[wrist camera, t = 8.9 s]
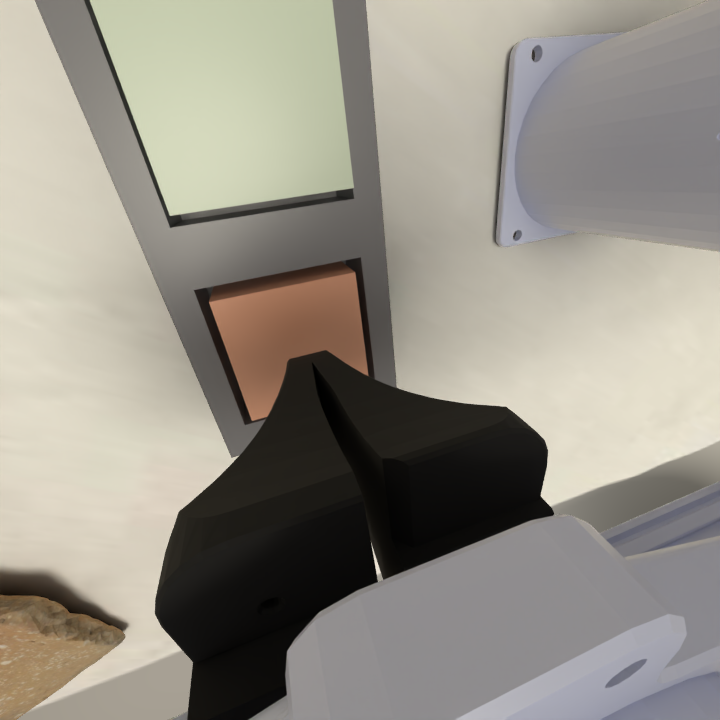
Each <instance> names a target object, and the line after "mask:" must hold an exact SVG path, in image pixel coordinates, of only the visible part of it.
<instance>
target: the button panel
mask: <svg viewBox="0 0 720 720" xmlns="http://www.w3.org/2000/svg"><path fill="white" fill-rule="evenodd" d="M332 1H333V10H334V19H335V27H336V36H337V45H338V53H339V62H340V71H341V79H342V88H343V97H344V106H345V114H346V123H347V132H348V140H349V149H350V158H351V166H352V175H353V184H354V188H351V189H344V190H337V191H331V192H324V193H318V194H311V195H304V196H298V197H291V198H285V199H278V200H271V201H265V202H258V203H252V204H245V205H238V206H232V207H225V208H218V209H212V210H205V211H199V212H192V213H185V214H179V215H172V216H170V215H169V212H168V209H167V207H166V204H165V201H164V199H163V196H162V193H161V190H160V188H159V185H158V182H157V180H156V177H155V174H154V172H153V169H152V166H151V164H150V161H149V158H148V156H147V153H146V150H145V148H144V145H143V142H142V139H141V137H140V134H139V131H138V129H137V126H136V123H135V121H134V118H133V115H132V113H131V110H130V107H129V105H128V102H127V99H126V96H125V94H124V91H123V88H122V86H121V83H120V80H119V78H118V75H117V72H116V70H115V67H114V64H113V62H112V59H111V56H110V54H109V51H108V48H107V45H106V43H105V40H104V37H103V35H102V32H101V29H100V27H99V24H98V21H97V19H96V16H95V13H94V11H93V8H92V5H91V2H90V0H35V2H36V4H37V7H38V9H39V11H40V14H41V16H42V18H43V21H44V23H45V25H46V28H47V30H48V32H49V35H50V37H51V39H52V41H53V44H54V46H55V48H56V51H57V53H58V55H59V58H60V60H61V62H62V65H63V67H64V69H65V72H66V74H67V76H68V79H69V81H70V83H71V86H72V88H73V90H74V93H75V95H76V97H77V100H78V102H79V104H80V107H81V109H82V111H83V113H84V116H85V118H86V120H87V123H88V125H89V127H90V130H91V132H92V134H93V137H94V139H95V141H96V144H97V146H98V148H99V151H100V153H101V155H102V158H103V160H104V162H105V165H106V167H107V169H108V172H109V174H110V176H111V179H112V181H113V183H114V185H115V188H116V190H117V192H118V195H119V197H120V199H121V202H122V204H123V206H124V209H125V211H126V213H127V216H128V218H129V220H130V223H131V225H132V227H133V230H134V232H135V234H136V237H137V239H138V241H139V244H140V246H141V248H142V251H143V253H144V255H145V257H146V260H147V262H148V264H149V267H150V269H151V271H152V274H153V276H154V278H155V281H156V283H157V285H158V288H159V290H160V292H161V295H162V297H163V299H164V302H165V304H166V306H167V309H168V311H169V313H170V316H171V318H172V320H173V323H174V325H175V327H176V329H177V332H178V334H179V336H180V339H181V341H182V343H183V346H184V348H185V350H186V353H187V355H188V357H189V360H190V362H191V364H192V367H193V369H194V371H195V374H196V376H197V378H198V381H199V383H200V385H201V388H202V390H203V392H204V395H205V397H206V399H207V401H208V404H209V406H210V408H211V411H212V413H213V415H214V418H215V420H216V422H217V425H218V427H219V429H220V432H221V434H222V436H223V439H224V441H225V443H226V446H227V448H228V450H229V453H230V455H231V457H236V456H239V455H240V454H241V453H242V452H243V451H244V450H245V448H246V447H247V446H248V445H249V443H250V442H251V441H252V439H253V438H254V437H255V435H256V434H257V432H258V431H259V429H260V428H261V426H262V425H263V423H264V421H265V420H266V418H267V417H264V418H261V419H257V420H254V421H252V420H251V417H250V414H249V412H248V409H247V406H246V403H245V400H244V398H243V395H242V392H241V389H240V387H239V384H238V381H237V378H236V376H235V373H234V370H233V367H232V365H231V362H230V359H229V356H228V353H227V351H226V348H225V345H224V342H223V340H222V337H221V334H220V331H219V329H218V326H217V323H216V320H215V317H214V315H213V312H212V309H211V306H210V304H209V300H210V297H211V293H212V289H213V286H217V285H222V284H227V283H232V282H238V281H243V280H248V279H253V278H258V277H263V276H268V275H273V274H278V273H283V272H288V271H293V270H299V269H304V268H309V267H314V266H319V265H324V264H329V263H334V262H339V261H341V262H343V263H344V264H345V265H347V266H348V267H349V268H351V269H352V270H353V271H354V272H355V274H356V282H357V290H358V298H359V305H360V313H361V321H362V329H363V337H364V345H365V352H366V360H367V368H368V376H369V377H371V378H373V379H375V380H377V381H380V382H382V383H384V384H387V385H390V386H392V387H395V388H397V387H396V374H395V362H394V349H393V336H392V324H391V311H390V299H389V286H388V274H387V261H386V249H385V236H384V224H383V211H382V199H381V186H380V174H379V161H378V149H377V136H376V124H375V111H374V99H373V86H372V74H371V61H370V49H369V36H368V24H367V11H366V0H332Z"/></svg>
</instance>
